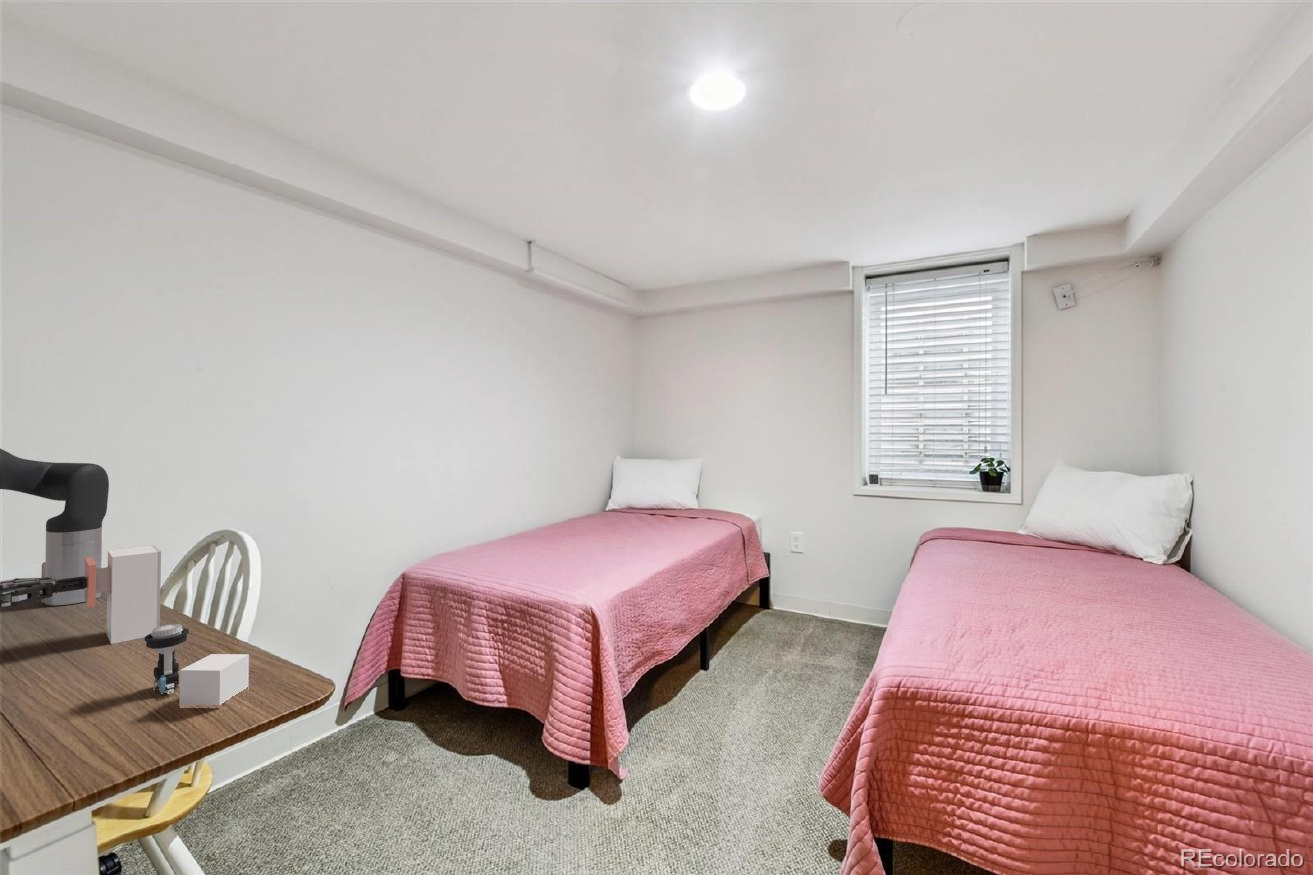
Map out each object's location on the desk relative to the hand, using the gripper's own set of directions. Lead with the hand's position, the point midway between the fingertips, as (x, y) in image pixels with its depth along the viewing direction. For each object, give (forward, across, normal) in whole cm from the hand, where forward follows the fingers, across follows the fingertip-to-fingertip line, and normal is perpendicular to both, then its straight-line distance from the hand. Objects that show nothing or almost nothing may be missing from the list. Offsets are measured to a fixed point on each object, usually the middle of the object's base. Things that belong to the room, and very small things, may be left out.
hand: (86, 582), depth 104 cm
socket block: (+7, 0, +12) cm, 14 cm away
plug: (+4, 0, +4) cm, 5 cm away
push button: (+7, -36, +12) cm, 39 cm away
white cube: (+11, -45, +12) cm, 48 cm away
